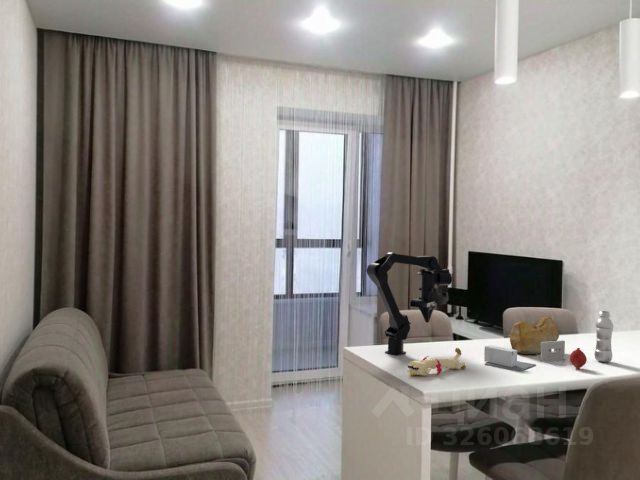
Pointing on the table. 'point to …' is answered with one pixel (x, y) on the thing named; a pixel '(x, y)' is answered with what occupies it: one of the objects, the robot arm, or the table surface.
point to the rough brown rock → (533, 335)
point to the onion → (577, 358)
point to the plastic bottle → (603, 337)
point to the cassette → (552, 355)
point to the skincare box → (500, 356)
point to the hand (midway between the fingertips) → (427, 322)
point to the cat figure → (435, 364)
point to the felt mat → (519, 367)
